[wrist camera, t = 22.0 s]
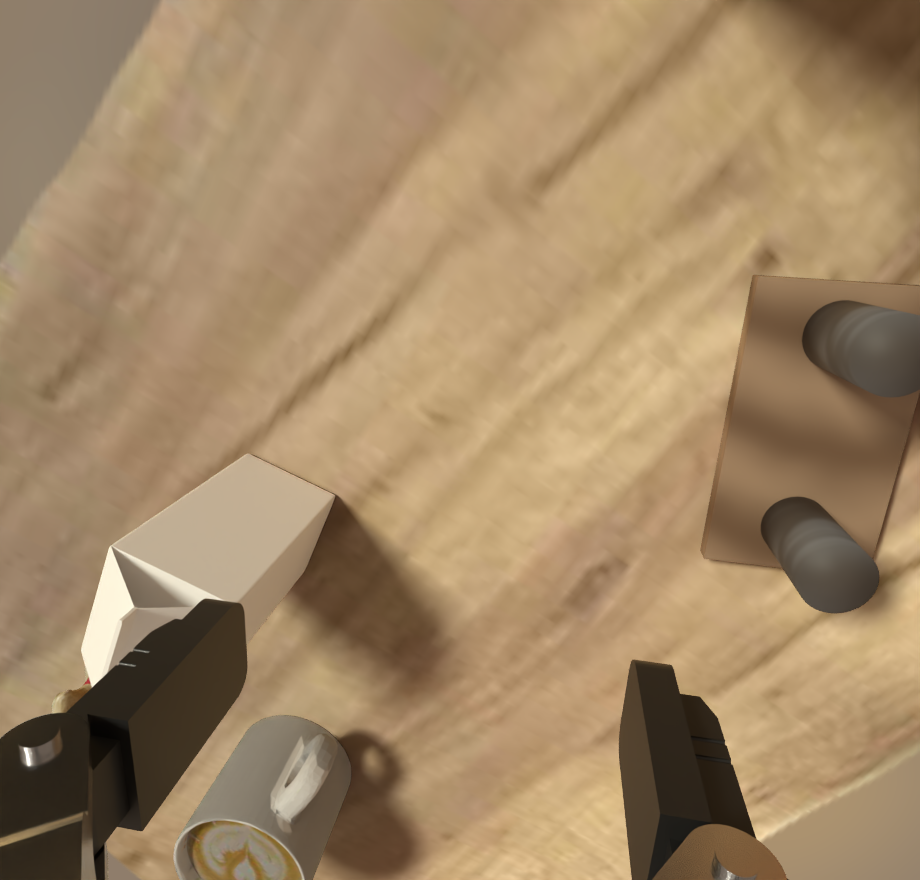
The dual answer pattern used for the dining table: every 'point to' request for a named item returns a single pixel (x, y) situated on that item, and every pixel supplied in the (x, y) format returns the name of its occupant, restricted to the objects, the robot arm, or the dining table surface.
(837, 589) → the stand
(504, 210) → the dining table surface
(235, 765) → the coffee mug
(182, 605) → the milk carton
